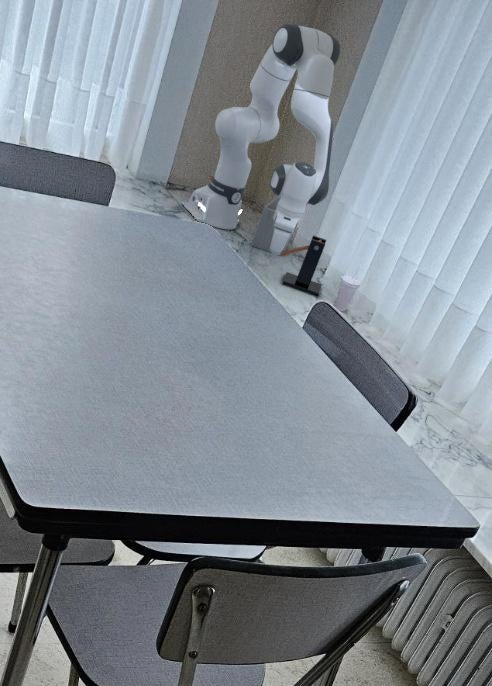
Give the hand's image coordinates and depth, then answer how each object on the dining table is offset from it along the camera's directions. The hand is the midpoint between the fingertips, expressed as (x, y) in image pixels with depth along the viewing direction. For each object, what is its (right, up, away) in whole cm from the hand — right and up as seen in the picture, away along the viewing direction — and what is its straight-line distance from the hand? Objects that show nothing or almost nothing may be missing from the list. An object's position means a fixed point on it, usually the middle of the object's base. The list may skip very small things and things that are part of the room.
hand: (273, 258), depth 319 cm
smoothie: (+20, -17, -5) cm, 27 cm away
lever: (+7, +1, -3) cm, 8 cm away
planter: (+4, +9, +24) cm, 25 cm away
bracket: (+9, -8, +2) cm, 13 cm away
